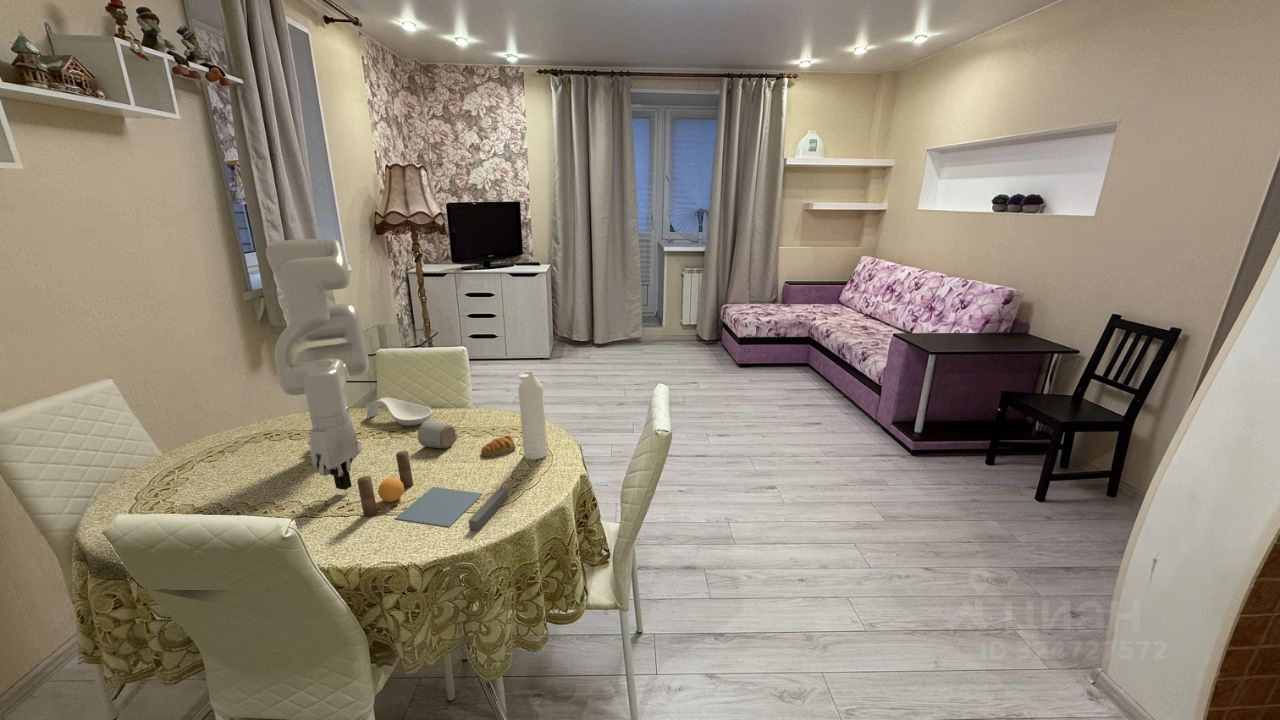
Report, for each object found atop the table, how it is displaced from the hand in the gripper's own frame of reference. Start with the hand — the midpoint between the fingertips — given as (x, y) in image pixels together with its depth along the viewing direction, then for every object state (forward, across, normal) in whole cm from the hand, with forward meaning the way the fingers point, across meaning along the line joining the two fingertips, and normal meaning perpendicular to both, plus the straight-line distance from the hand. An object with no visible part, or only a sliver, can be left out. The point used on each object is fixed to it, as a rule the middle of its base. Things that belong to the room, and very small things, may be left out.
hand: (343, 487), depth 130 cm
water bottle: (+2, -28, +38) cm, 47 cm away
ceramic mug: (+2, -30, +7) cm, 30 cm away
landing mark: (+2, 0, +27) cm, 27 cm away
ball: (-1, 0, +14) cm, 14 cm away
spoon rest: (+2, -42, -17) cm, 46 cm away
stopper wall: (+2, 0, +40) cm, 40 cm away
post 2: (+2, -6, +13) cm, 15 cm away
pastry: (+2, -30, +26) cm, 40 cm away
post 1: (+2, +6, +13) cm, 15 cm away
